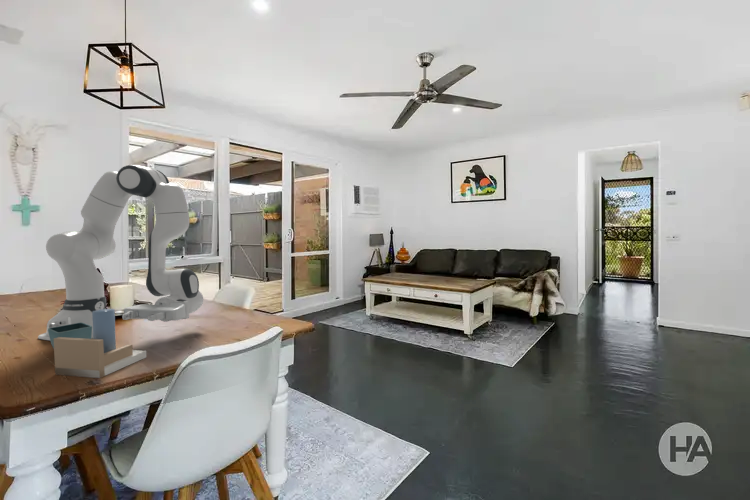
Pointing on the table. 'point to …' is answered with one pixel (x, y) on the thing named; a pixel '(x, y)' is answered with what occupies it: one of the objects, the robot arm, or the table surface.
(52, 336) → the flower pot
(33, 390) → the table surface
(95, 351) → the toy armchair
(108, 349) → the light blue cylinder
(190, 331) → the table surface
